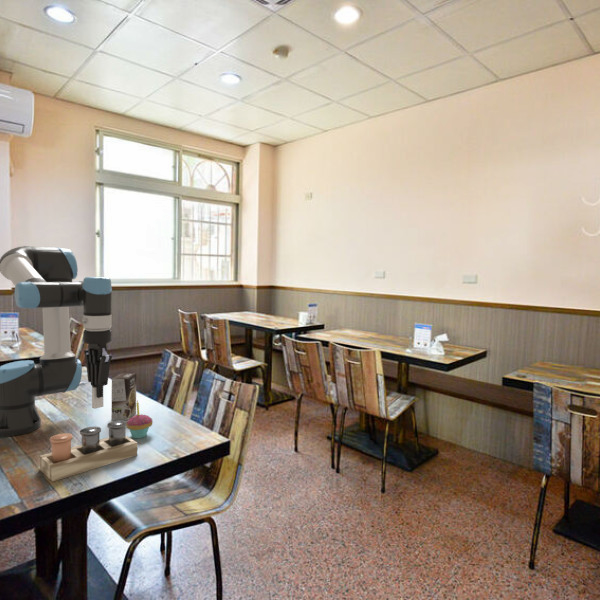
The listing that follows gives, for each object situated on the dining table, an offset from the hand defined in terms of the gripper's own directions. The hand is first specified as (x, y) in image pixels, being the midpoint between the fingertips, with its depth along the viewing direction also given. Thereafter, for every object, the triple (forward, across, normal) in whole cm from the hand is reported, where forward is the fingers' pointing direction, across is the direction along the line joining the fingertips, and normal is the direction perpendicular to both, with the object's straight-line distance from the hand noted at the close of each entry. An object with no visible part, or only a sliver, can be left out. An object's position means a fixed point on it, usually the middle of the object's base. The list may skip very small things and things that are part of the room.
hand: (97, 407), depth 128 cm
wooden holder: (+16, 0, -2) cm, 16 cm away
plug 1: (+13, 0, -2) cm, 13 cm away
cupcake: (+17, -8, +18) cm, 26 cm away
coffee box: (+17, -30, +24) cm, 42 cm away
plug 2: (+13, 0, +6) cm, 14 cm away
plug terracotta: (+13, 0, -10) cm, 17 cm away
